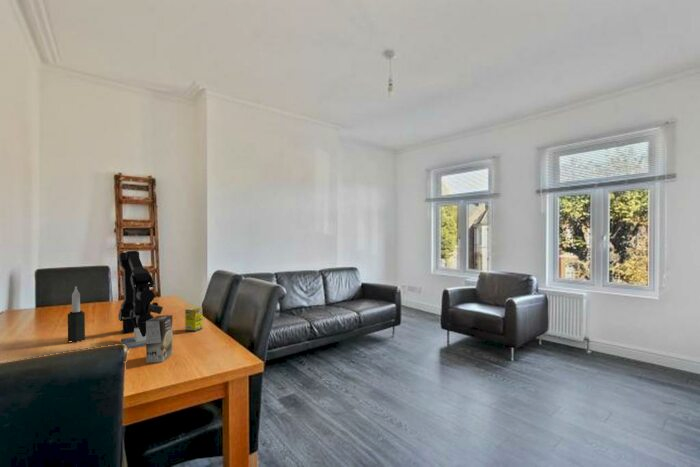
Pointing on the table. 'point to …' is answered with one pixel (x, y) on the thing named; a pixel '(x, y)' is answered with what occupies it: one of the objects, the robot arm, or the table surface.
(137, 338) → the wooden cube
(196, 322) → the supplement box
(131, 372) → the table surface
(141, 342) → the rubber mat
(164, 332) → the coffee box
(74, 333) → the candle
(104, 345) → the table surface
